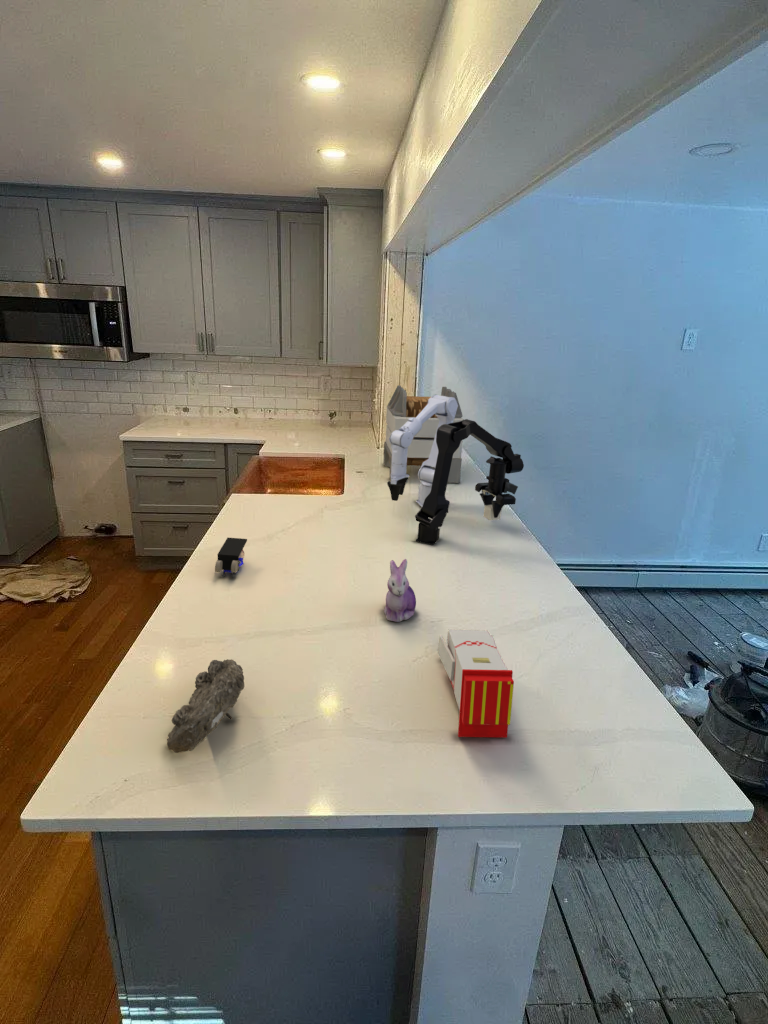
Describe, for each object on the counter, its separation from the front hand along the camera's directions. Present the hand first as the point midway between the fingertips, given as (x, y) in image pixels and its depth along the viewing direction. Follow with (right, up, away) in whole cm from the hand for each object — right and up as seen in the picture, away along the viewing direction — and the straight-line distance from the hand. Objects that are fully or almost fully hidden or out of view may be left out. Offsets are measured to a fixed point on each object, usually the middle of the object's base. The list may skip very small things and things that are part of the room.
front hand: (492, 515), depth 210 cm
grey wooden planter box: (-23, +20, +65) cm, 72 cm away
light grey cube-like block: (0, -1, 0) cm, 1 cm away
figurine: (-36, -25, -62) cm, 76 cm away
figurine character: (-85, -16, -42) cm, 96 cm away
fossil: (-73, -38, -102) cm, 131 cm away
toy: (-22, -36, -91) cm, 101 cm away
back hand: (-35, +7, +6) cm, 36 cm away
